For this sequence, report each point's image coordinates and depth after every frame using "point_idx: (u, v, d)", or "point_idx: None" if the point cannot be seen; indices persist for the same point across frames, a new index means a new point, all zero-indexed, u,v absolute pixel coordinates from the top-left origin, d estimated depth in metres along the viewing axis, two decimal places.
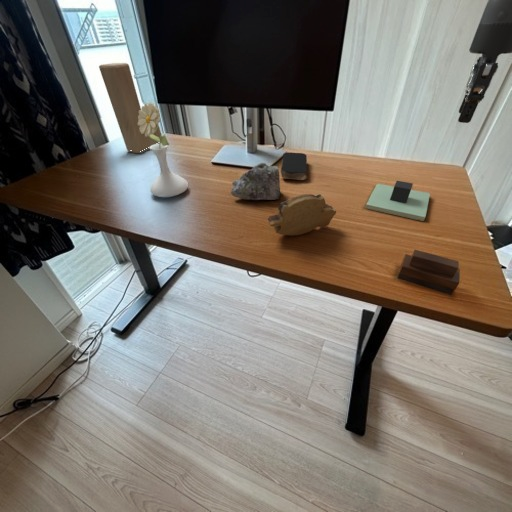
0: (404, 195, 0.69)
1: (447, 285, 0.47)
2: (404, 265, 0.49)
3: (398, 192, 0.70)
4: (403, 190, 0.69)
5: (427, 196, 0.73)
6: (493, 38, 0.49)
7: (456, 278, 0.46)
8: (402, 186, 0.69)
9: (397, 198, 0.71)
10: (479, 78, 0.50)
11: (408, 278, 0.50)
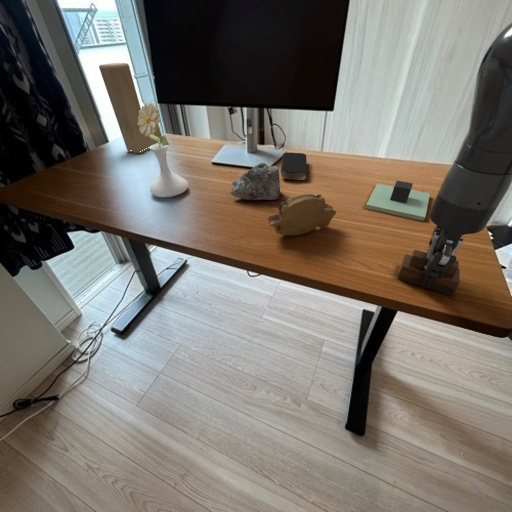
0: (404, 195, 0.69)
1: (447, 285, 0.47)
2: (404, 265, 0.49)
3: (398, 192, 0.70)
4: (403, 190, 0.69)
5: (427, 196, 0.73)
6: (454, 219, 0.39)
7: (456, 278, 0.46)
8: (402, 186, 0.69)
9: (397, 198, 0.71)
10: (435, 265, 0.42)
11: (408, 278, 0.50)
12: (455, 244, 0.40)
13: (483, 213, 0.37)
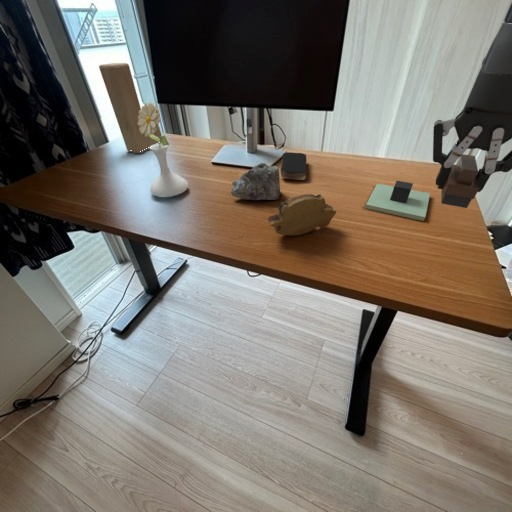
0: (404, 195, 0.69)
1: (445, 188, 0.44)
2: None
3: (398, 192, 0.70)
4: (403, 190, 0.69)
5: (427, 196, 0.73)
6: None
7: (455, 183, 0.42)
8: (402, 186, 0.69)
9: (397, 198, 0.71)
10: None
11: None
12: (457, 118, 0.40)
13: (484, 78, 0.35)
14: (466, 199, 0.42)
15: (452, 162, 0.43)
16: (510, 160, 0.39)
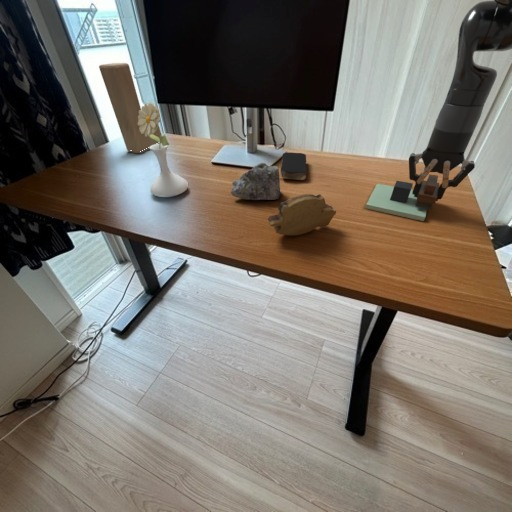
0: (404, 195, 0.69)
1: (417, 196, 0.67)
2: (423, 180, 0.71)
3: (398, 192, 0.70)
4: (403, 190, 0.69)
5: None
6: None
7: (423, 194, 0.65)
8: (402, 186, 0.69)
9: (397, 198, 0.71)
10: None
11: None
12: (423, 153, 0.63)
13: (435, 132, 0.59)
14: (430, 203, 0.65)
15: (421, 180, 0.66)
16: (456, 180, 0.63)
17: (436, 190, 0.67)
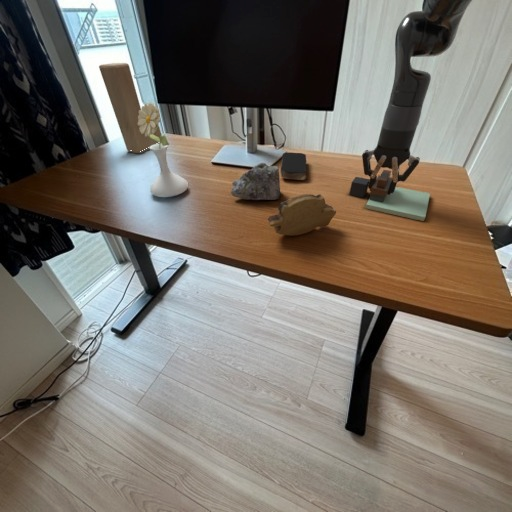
0: (357, 186, 0.75)
1: None
2: (379, 175, 0.76)
3: (355, 191, 0.76)
4: (352, 187, 0.76)
5: (427, 196, 0.73)
6: None
7: (375, 188, 0.70)
8: (351, 187, 0.77)
9: (361, 192, 0.75)
10: None
11: None
12: (374, 150, 0.68)
13: (382, 130, 0.64)
14: (381, 197, 0.70)
15: (375, 175, 0.71)
16: (404, 174, 0.68)
17: (388, 184, 0.72)
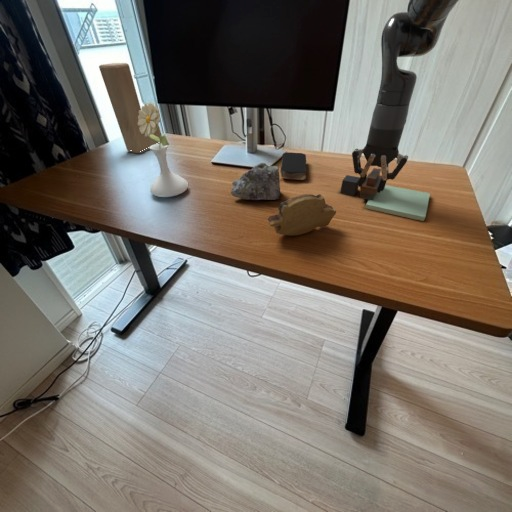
0: (348, 184, 0.76)
1: None
2: (370, 174, 0.77)
3: (345, 189, 0.77)
4: (343, 185, 0.77)
5: (427, 196, 0.73)
6: None
7: (365, 186, 0.72)
8: (342, 186, 0.78)
9: (352, 190, 0.76)
10: None
11: None
12: (363, 149, 0.69)
13: (371, 129, 0.65)
14: (371, 195, 0.72)
15: (364, 173, 0.72)
16: (393, 173, 0.69)
17: (378, 182, 0.73)
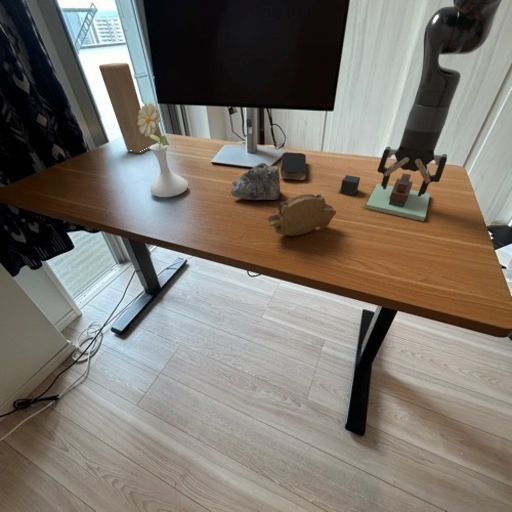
0: (348, 184, 0.76)
1: (390, 195, 0.70)
2: (398, 179, 0.74)
3: (345, 189, 0.77)
4: (343, 185, 0.77)
5: (427, 196, 0.73)
6: None
7: (395, 192, 0.68)
8: None
9: (352, 190, 0.76)
10: None
11: None
12: (396, 152, 0.66)
13: (406, 131, 0.61)
14: (402, 201, 0.68)
15: (388, 172, 0.69)
16: (436, 175, 0.64)
17: (408, 188, 0.69)
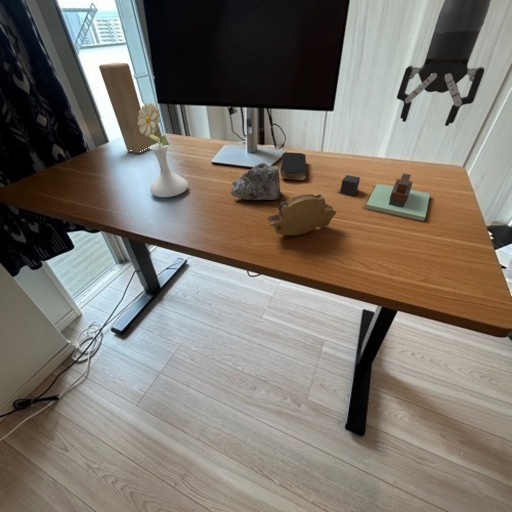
0: (348, 184, 0.76)
1: (390, 195, 0.70)
2: (398, 179, 0.74)
3: (345, 189, 0.77)
4: (343, 185, 0.77)
5: (427, 196, 0.73)
6: None
7: (395, 192, 0.68)
8: None
9: (352, 190, 0.76)
10: None
11: None
12: (420, 69, 0.55)
13: (435, 36, 0.50)
14: (402, 201, 0.68)
15: (410, 98, 0.58)
16: (469, 94, 0.53)
17: (408, 188, 0.69)
